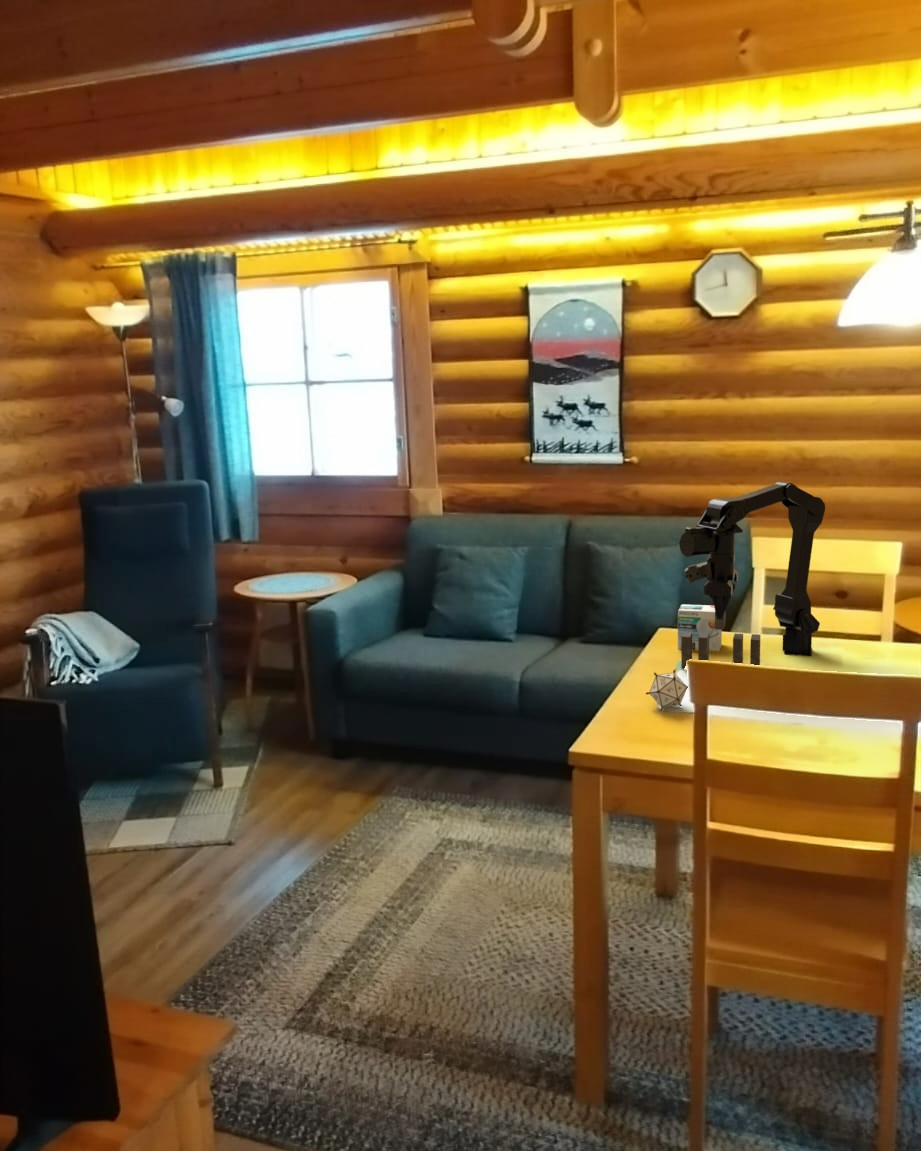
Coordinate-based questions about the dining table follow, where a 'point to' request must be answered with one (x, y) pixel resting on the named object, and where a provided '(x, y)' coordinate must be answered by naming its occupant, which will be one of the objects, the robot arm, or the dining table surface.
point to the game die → (668, 690)
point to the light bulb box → (699, 625)
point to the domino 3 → (720, 622)
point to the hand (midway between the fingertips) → (720, 616)
